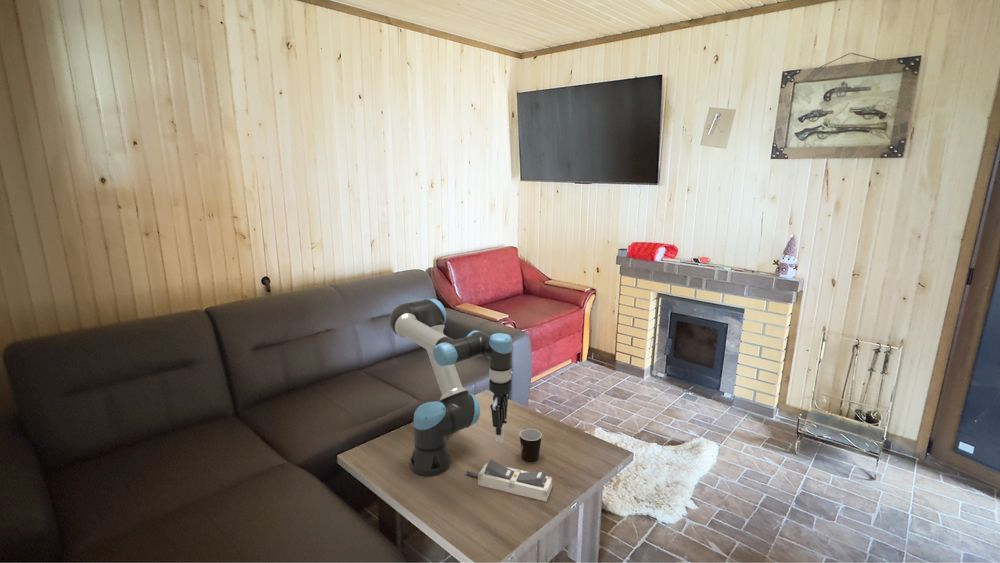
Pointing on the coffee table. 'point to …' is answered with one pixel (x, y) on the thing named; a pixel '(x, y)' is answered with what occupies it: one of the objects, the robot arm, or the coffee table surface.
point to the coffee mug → (530, 444)
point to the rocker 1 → (498, 470)
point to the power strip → (514, 484)
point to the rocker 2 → (532, 478)
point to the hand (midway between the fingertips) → (499, 441)
